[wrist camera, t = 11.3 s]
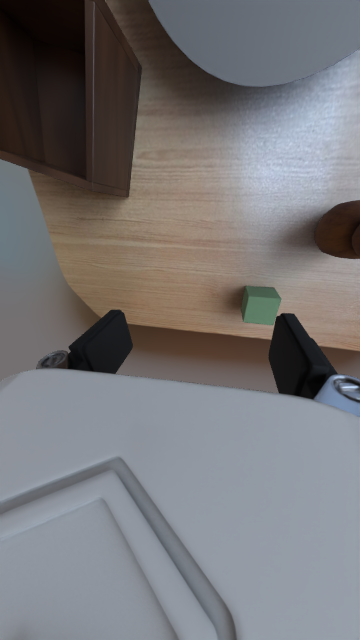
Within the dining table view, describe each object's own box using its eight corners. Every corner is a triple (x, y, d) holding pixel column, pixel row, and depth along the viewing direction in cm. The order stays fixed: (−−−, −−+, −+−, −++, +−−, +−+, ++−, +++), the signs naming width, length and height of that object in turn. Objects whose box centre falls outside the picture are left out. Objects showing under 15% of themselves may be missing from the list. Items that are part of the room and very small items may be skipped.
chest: (142, 66, 20) (94, -20, 13) (128, 197, 27) (92, 191, 19) (31, 30, 20) (-79, -74, 13) (46, 168, 27) (-21, 151, 20)
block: (240, 309, 32) (243, 322, 28) (245, 285, 30) (248, 296, 26) (267, 311, 31) (273, 325, 28) (274, 287, 29) (281, 298, 25)
